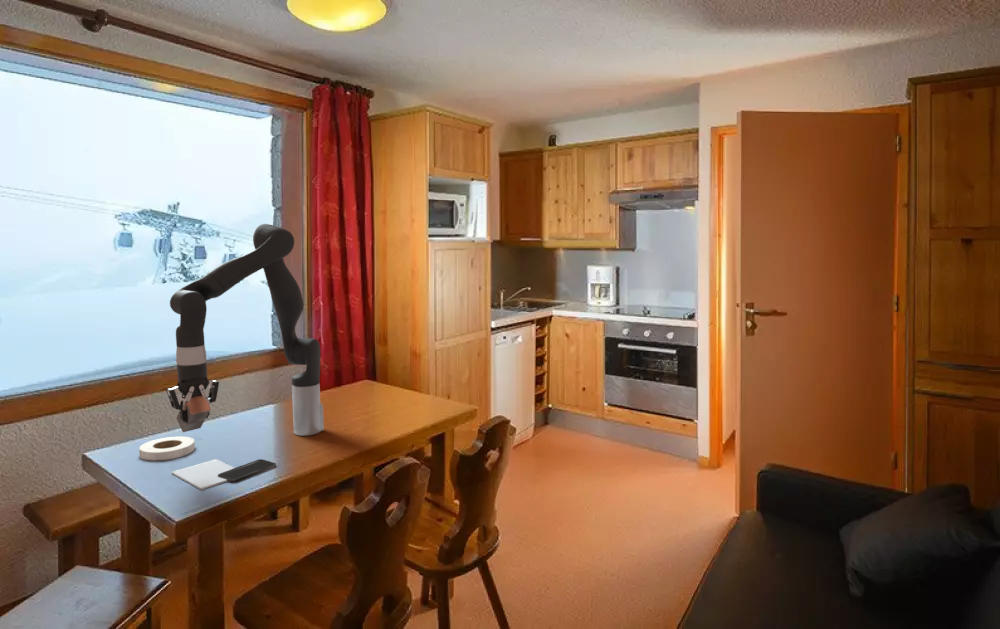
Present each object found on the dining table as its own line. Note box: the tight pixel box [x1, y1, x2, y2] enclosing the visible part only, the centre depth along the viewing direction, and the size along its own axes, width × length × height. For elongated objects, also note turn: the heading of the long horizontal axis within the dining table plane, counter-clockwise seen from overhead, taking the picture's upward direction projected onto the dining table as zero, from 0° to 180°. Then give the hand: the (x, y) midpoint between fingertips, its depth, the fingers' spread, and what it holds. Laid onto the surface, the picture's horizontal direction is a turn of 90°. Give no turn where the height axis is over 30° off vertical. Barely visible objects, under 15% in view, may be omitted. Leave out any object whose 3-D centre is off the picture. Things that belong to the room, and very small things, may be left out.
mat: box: [171, 458, 235, 491], centre depth 174 cm, size 13×18×1 cm
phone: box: [218, 458, 277, 484], centre depth 176 cm, size 8×1×15 cm
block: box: [176, 395, 211, 433], centre depth 172 cm, size 5×5×10 cm
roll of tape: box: [138, 436, 196, 461], centre depth 192 cm, size 16×15×3 cm
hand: (195, 419), depth 171 cm, fingers closed on block, 5 cm apart
